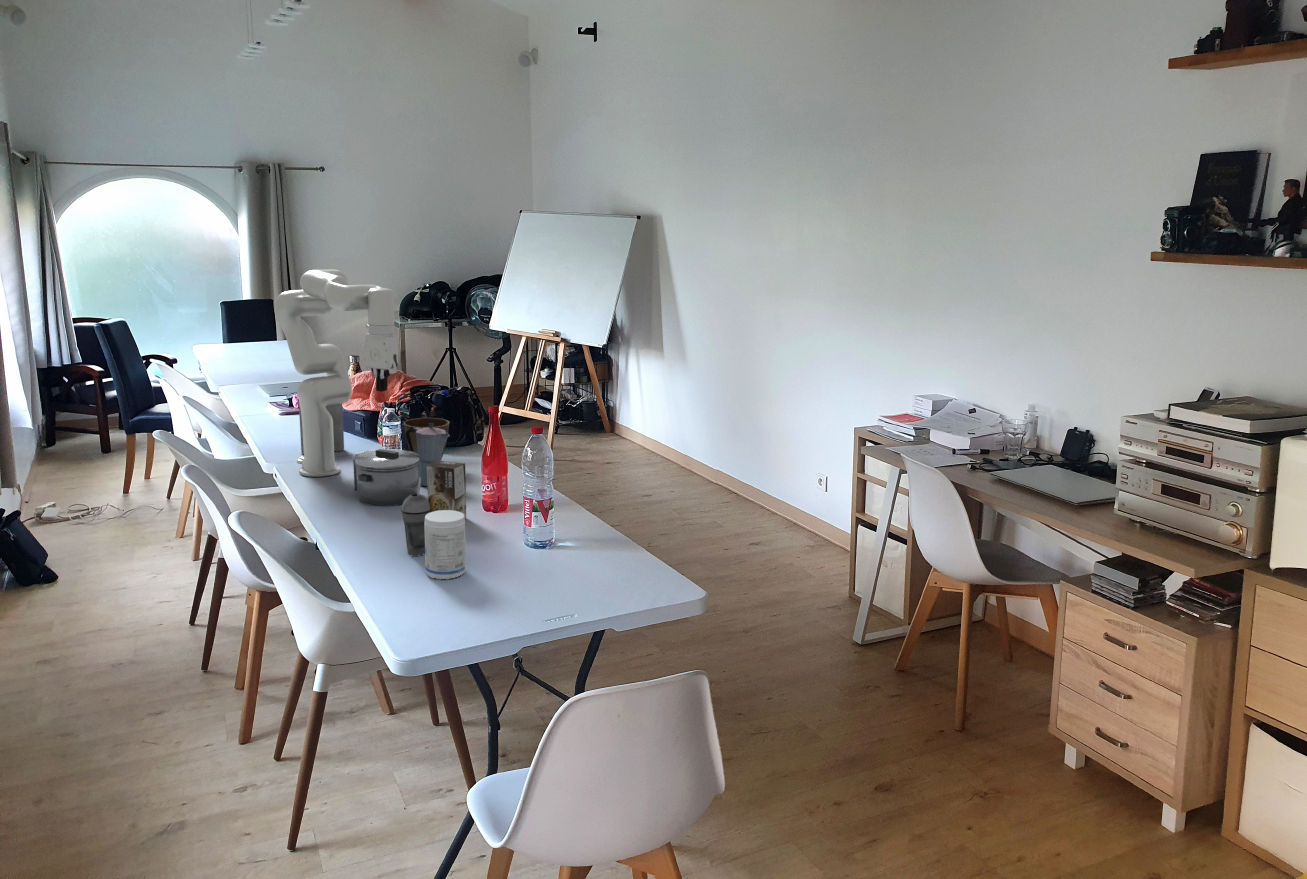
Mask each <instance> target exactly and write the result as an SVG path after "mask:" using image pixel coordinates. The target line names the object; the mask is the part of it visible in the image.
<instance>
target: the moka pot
mask: <svg viewBox="0 0 1307 879" xmlns="http://www.w3.org/2000/svg"><path fill="white" fill-rule="evenodd" d="M433 424H434V423H429V428H422V429H420V428H415V427H412V426H410V428H409V429H408V430H407V431H406V433H405V438H406V441H408V442H407V445H408V444H409V446H408V449H409V448H410V450H409V451H411V452H414V450H413V448H412V443H411V438H410V435H409V433H410V432H413V433H415V434H416V439H417V449H418V453H417V454H419V464H418V476H419V477H421V484H420V487H421V486H422V487H428V485H427V465H430V464H432V463H434V462H436V461H442V460H441V459H443V457H442V453H443V447H444V444H445V442H446V440H448V438H449V437H450V434H449V432H448V433H447V432H446V431H445V430H443V429H439V428H433ZM446 443H447V442H446ZM415 453H416V452H415ZM443 454H444V453H443Z"/></svg>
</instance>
